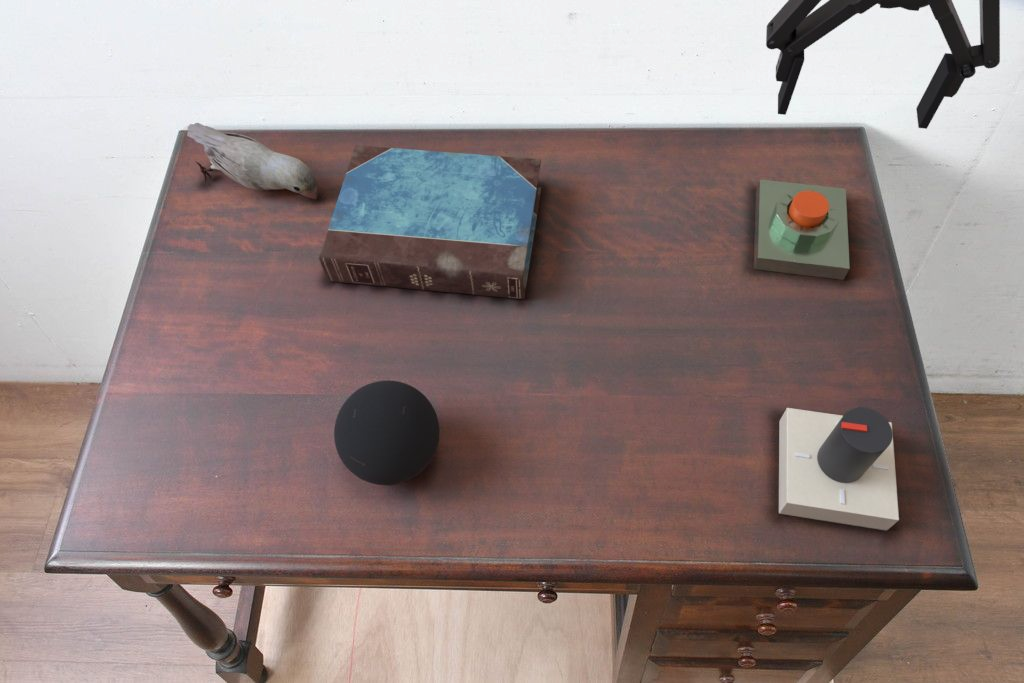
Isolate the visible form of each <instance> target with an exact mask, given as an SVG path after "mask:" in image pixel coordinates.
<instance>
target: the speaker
mask: <svg viewBox="0 0 1024 683" xmlns="http://www.w3.org/2000/svg"><path fill="white" fill-rule="evenodd" d="M333 429H334V430H333V438H334V445H335V449H336V452H337V454H338V457H339V458H340V460H341V462H342V464H343V465H344V467H346V469H348V470H349V472H350V473H351V474H353V475H354V476H356V477H357V478H358V479H360V480H362V481H365V482H367V483H370V484H373V485H377V486H378V485H379V486H394V485H399V484H402V483H405V482H409V481H410V480H412V479H414V478H415V477H417V476H419V474H421V473H422V472H423V471H425V469H426V468H427V467H428V466H429V464H430V463H431V462H432V460H433V458H434V457H435V454H436V452H437V449H438V446H439V443H440V422H439V418H438V415H437V412H436V410H435V407H434V406H433V404H432V403H431V401H430V400H429V399H428V397H427V396H426V395H425V394H424V393H422V391H420V390H418V389H417V388H416V387H415V386H412V385H411V384H408V383H405V382H402V381H398V380H377V381H374V382H370V383H367V384H365V385H362V387H359V388H358V389H356V390H355V391H354V392H353V393H351V394H350V396H348V397H347V399H346V400H345V401H344V402H343V404H342V405H341V408H340V409H339V411H338V413H337V415H336V419H335V422H334V428H333Z"/></svg>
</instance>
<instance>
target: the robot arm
mask: <svg viewBox="0 0 1024 683" xmlns="http://www.w3.org/2000/svg"><path fill="white" fill-rule="evenodd" d="M978 1H979V39H980V44H976V45H971V42H970V40H969V37H968V36H967V33H966V30H965V27H964V26H963V23H962V21H961V18H960V16H959V14H958V11H957V9H956V7H955V4H954V1H953V0H827V1H826V2H824V4H822V5H820V6H819V7H818V8H817V9H815V8H816V7H817V6H818V5H819V4H820V2H822V0H787V2H786V3H785V4H784V5H783V6H782V7H781V8H780V9H779V11H778V12H777V13H776V14H775V15H774V16H773V17H772V19H771V20H770V21H769V22H768V23H767V25H766V37H765V38H766V39H765V46H766V48H767V49H768V50H776V49H777V50H779V51H780V52H779V55H778V59H777V62H776V65H775V80H776V82H781V85H780V88H779V91H778V93H777V115H784V116H786V115H787V113H788V110H789V106H790V103H791V100H792V97H793V94H794V92H795V88H796V85H797V82H798V80H799V77H800V75H801V71H802V68H803V65H804V63H805V50H806V49H807V48H809V47H810V46H813V45H814V44H815V43H817V41H819V40H820V39H822V38H823V37H825V36H826V35H828V34H830V33H831V32H832V31H834V30H835V29H837V28H838V27H839V26H841V25H842V24H844V23H845V22H846V21H848V20H850V19H851V18H853V17H854V16H855V15H857V14H860V15H862V14H864V13H866V12H867V11H869V10H870V9H872V8H873V7H875V6H876V5H879V9H896V8H901V9H904V10H908V11H913V12H919V10H920V9H921V8H926V7H928V6H929V9H930V10H931V12H932V16H933V17H934V19H935V21H936V22H937V23H938V26H939V28H940V30H941V33H942V35H943V37H944V39H945V41H946V44H947V46H948V48H949V50H950V52H951V53H947V52H945V53H944V54H943V56H942V57H941V60H940V62H939V64H938V66H937V68H936V69H935V72H934V74H933V75H932V77H931V79H930V81H929V83H928V85H927V87H926V89H925V91H924V92H923V95H922V96H921V98H920V100H919V102H918V104H917V106H916V117H917V126H918V129H925V130H927V129H928V128H929V126H930V124H931V122H932V120H933V118H934V117H935V115H936V113H937V111H938V109H939V107H940V106H941V104H942V102H943V101H944V98H953V97H954V96H955V95H957V94H958V92H959V90H960V88H961V87H962V85H963V83H964V82H965V79H970V78H972V77H973V76H975V75H976V73H977V72H976V68H979V67H984V68H986V69H995V68H996V67H997V66H999V65H1000V61H1001V0H978ZM814 9H815V10H814Z"/></svg>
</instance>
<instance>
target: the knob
mask: <svg viewBox="0 0 1024 683" xmlns="http://www.w3.org/2000/svg"><path fill="white" fill-rule="evenodd" d="M842 416H843V417H842V418H841V420H840V421H839V422H838V424H837V425H836V426H835V428H834V429H833V431H832V432H831V433H830V435H829V436H828V437H827V439H826V440H825V442H824V443H823V444H822V446H821V447H820V449H819V451H818V455H817V460H818V464H819V466H820V468H821V470H822V471H823V472H824V474H825V475H827V476H828V477H829V478H831V479H832V480H835V481H837V482H841V483H850V482H854V481H856V480H858V479H859V478H860V477H861V476H862V475H863V474H864V473H865V472H866V471H867V470H868V469H869V467H870V466H871V465H872V464H873V463H874V462H875V461H876V460H877V459H878V457H879V456H880V455H881V454H882V453H883V452H884V451H885V450H886V449H887V447H888V446H889V445H890V443H891V441H892V437H893V438H894V434H892V432H893V428H892V429H891V426H890V424H889V422H890V421H888V419H887V418H886V417H885V416H884V415H883V414H881V413H880V412H878V411H876V410H874V409H872V408H870V407H859V406H858V407H854V408H851V409H849V410H848V411H846V412H845V413H844V414H843V415H842Z"/></svg>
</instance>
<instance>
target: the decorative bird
mask: <svg viewBox="0 0 1024 683" xmlns="http://www.w3.org/2000/svg"><path fill="white" fill-rule="evenodd" d="M187 130H188V131H187V133H186V135H187V137H188V138H191V139H192V140H194V141H195V143H198V144H200V145H202V146H203V150H204V154H205V155H206V157H207V158H208V160H209V162H210V163H211V164H212V165H210V167H209V168H206V167H205V166H203V165H202V164H201V163H200V162H199V161H194V162H195V163H196V164H197V165H198V166H199V168H200V170H199V171H200V173H202V175H203V177H204V183H207V177H209V179H212V176H211V174H210V173H209V172H213V171H214V170H216V171H217V170H218V171H221V173H223V174H224V175H225V176H226V177H228V178H229V179H231V180H232V181H234V182H235V183H237V184H239V185H241V186H243V187H245V188H247V189H249V190H252V191H269V190H285V189H286V190H288V191H291V192H293V193H295V194H296V193H297V194H300V195H302V196H303V197H305V198H309V199H311V200H317V198H318V185H317V180H316V177H315V174H314V173H313V172H312V170H311V169H310V167H309V166H308V165H307V164H306V163H305V162H303V161H302V160H300V159H299V158H297V157H294V156H291V155H287V154H284V153H280V152H276V151H274V150H272V149H271V148H269V147H267V146H266V145H265V144H263V143H261V142H259V141H258V140H256V139H254V138H252V137H250V136H248V135H245V134H240V133H236V132H222V131H220V130H218V129H216V128H214V127H210V126H208V125H203V124H202V123H200V122H196V123H194V124H193V123H190V124H188V126H187Z"/></svg>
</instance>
